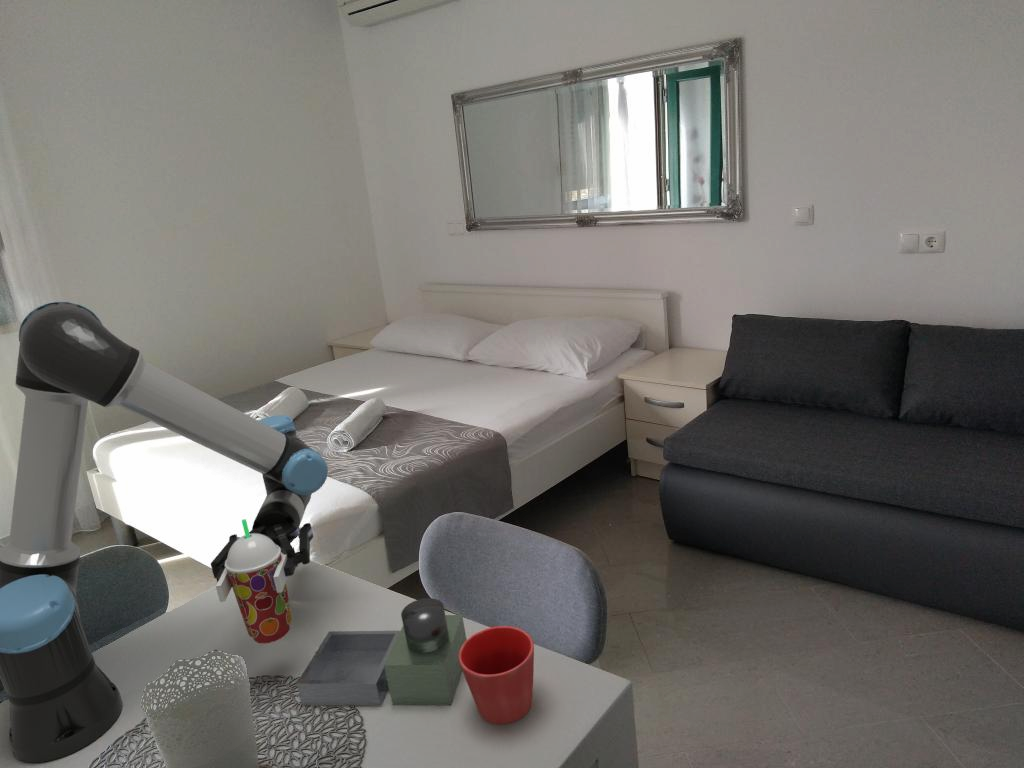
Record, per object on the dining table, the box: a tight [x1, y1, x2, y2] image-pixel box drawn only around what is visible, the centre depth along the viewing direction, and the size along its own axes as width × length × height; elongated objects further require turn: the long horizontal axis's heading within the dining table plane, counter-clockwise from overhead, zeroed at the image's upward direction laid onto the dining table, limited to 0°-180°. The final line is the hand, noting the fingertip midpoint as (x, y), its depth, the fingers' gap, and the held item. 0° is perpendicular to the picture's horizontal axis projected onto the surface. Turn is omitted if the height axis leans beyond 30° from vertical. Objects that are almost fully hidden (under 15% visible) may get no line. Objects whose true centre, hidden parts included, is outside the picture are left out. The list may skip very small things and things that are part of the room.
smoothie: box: [225, 519, 293, 644], centre depth 117 cm, size 8×8×20 cm
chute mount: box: [296, 597, 467, 707], centre depth 116 cm, size 23×13×12 cm, turn 81°
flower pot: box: [459, 625, 535, 726], centre depth 107 cm, size 11×11×10 cm
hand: (249, 589), depth 113 cm, fingers closed on smoothie, 8 cm apart
